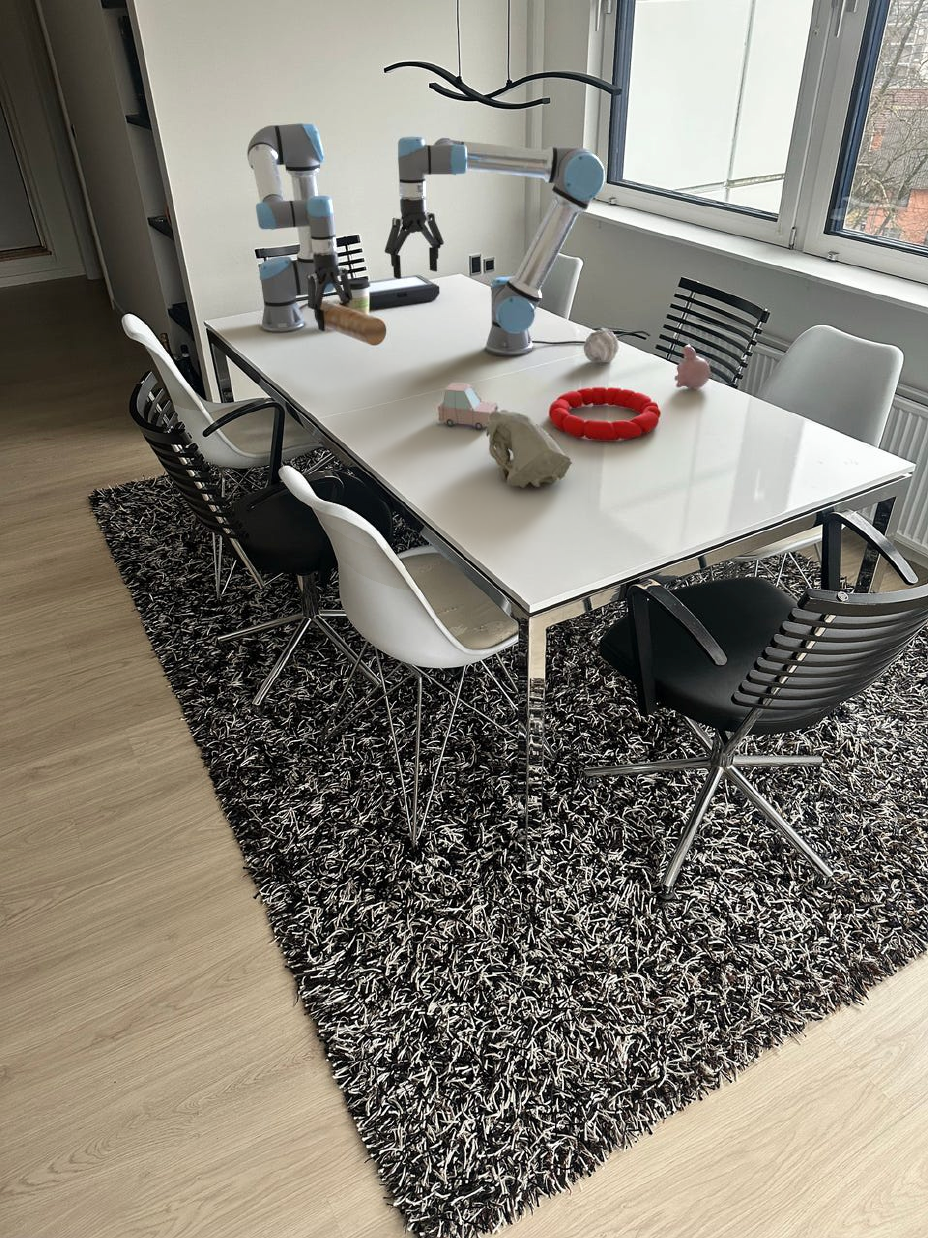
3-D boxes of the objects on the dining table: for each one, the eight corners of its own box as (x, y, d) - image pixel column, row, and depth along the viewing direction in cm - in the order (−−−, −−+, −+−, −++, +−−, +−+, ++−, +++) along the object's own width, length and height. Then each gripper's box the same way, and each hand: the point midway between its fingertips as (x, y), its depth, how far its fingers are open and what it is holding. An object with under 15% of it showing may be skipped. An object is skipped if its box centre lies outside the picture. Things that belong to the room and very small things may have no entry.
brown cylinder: (316, 328, 286) (313, 303, 282) (336, 323, 290) (334, 298, 286) (365, 348, 268) (363, 321, 264) (387, 342, 273) (385, 315, 268)
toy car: (488, 432, 240) (488, 396, 234) (436, 426, 244) (434, 390, 239) (499, 419, 247) (499, 384, 241) (448, 413, 252) (447, 379, 246)
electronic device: (361, 295, 335) (344, 283, 350) (362, 312, 338) (346, 299, 353) (439, 284, 345) (420, 273, 360) (439, 300, 349) (421, 289, 364)
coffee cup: (372, 326, 323) (368, 283, 314) (345, 327, 323) (340, 284, 315) (374, 318, 331) (371, 276, 322) (348, 319, 331) (344, 277, 323)
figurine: (665, 387, 264) (669, 347, 257) (693, 380, 268) (698, 340, 261) (686, 396, 257) (690, 355, 250) (714, 388, 262) (720, 348, 255)
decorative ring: (589, 435, 224) (684, 402, 234) (527, 398, 247) (617, 369, 256) (589, 461, 229) (683, 427, 238) (529, 422, 251) (617, 393, 260)
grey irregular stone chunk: (496, 517, 219) (521, 479, 201) (463, 429, 225) (484, 384, 207) (557, 503, 225) (586, 465, 206) (523, 417, 231) (549, 373, 212)
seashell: (573, 361, 285) (574, 329, 280) (611, 352, 291) (613, 322, 285) (592, 370, 278) (593, 338, 272) (630, 361, 284) (632, 330, 278)
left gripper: (302, 260, 265) (311, 336, 278) (360, 248, 275) (366, 322, 288) (289, 256, 269) (299, 331, 282) (346, 244, 280) (353, 317, 293)
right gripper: (385, 204, 249) (389, 283, 261) (454, 194, 262) (455, 269, 274) (369, 200, 254) (374, 278, 266) (438, 190, 267) (440, 265, 279)
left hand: (333, 326), depth 285 cm, fingers closed on brown cylinder, 8 cm apart
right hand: (415, 274), depth 270 cm, fingers open, 13 cm apart
